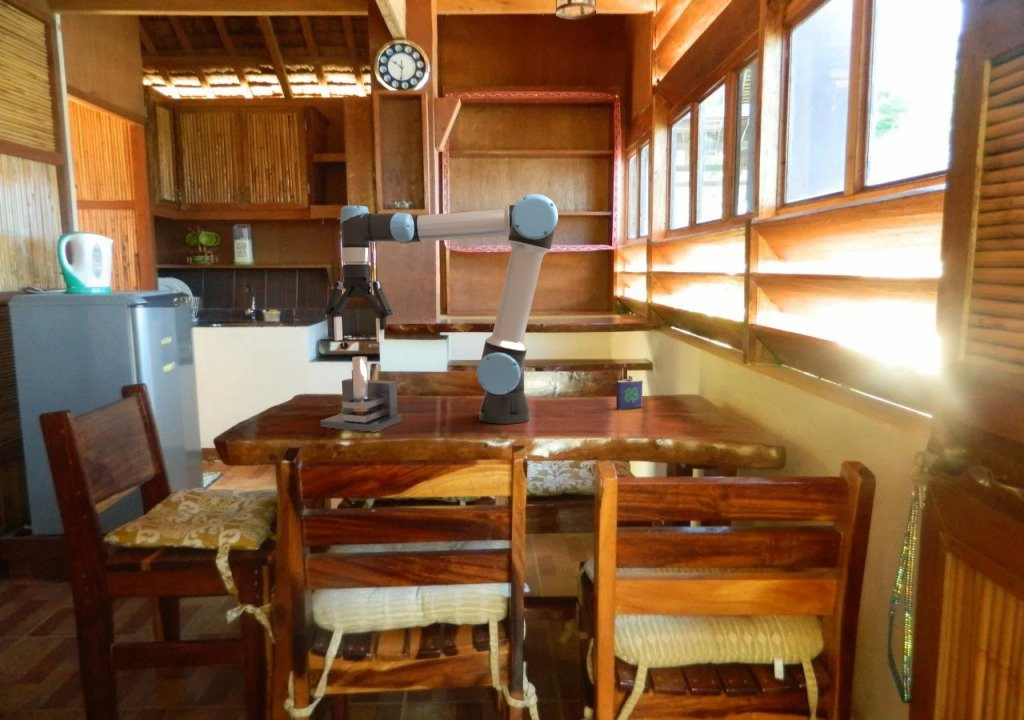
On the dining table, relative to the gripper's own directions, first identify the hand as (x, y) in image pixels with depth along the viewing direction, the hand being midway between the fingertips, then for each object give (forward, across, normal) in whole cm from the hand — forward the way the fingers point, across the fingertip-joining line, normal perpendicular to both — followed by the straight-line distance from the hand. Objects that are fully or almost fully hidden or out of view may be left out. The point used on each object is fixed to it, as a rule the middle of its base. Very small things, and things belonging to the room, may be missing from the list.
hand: (359, 341), depth 190 cm
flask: (+25, -66, -51) cm, 87 cm away
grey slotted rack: (+25, +2, -3) cm, 25 cm away
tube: (+23, 0, 0) cm, 23 cm away
